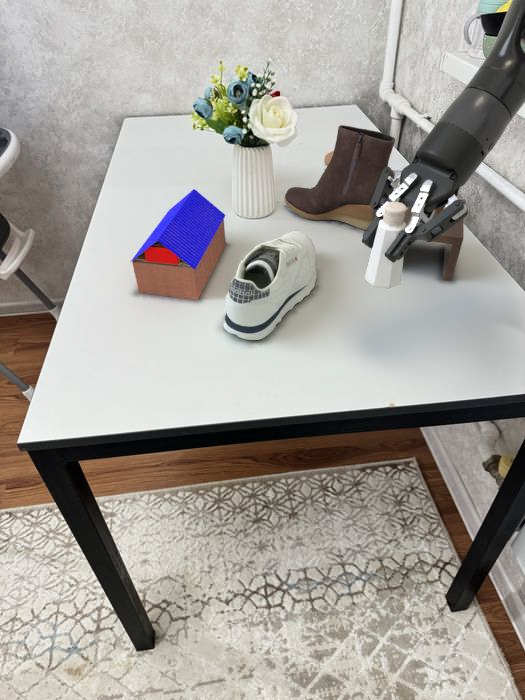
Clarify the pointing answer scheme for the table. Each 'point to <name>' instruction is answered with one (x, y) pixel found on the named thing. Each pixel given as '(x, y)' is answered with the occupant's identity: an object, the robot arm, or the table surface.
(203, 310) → the table surface
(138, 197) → the table surface
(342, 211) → the boot
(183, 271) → the house
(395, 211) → the salt shaker
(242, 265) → the running shoe
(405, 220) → the shelf
